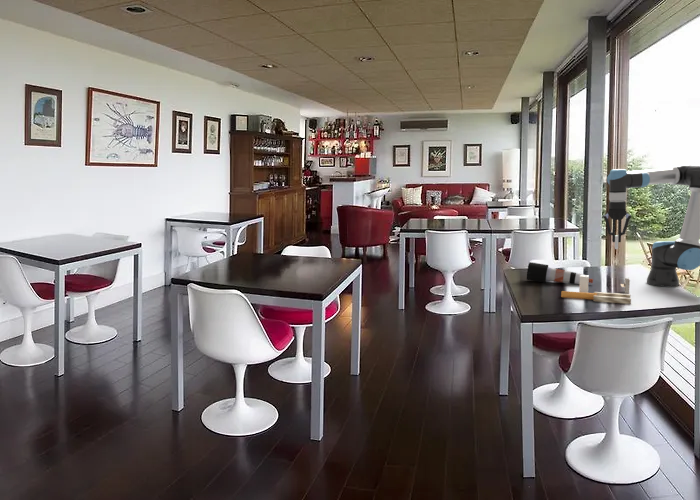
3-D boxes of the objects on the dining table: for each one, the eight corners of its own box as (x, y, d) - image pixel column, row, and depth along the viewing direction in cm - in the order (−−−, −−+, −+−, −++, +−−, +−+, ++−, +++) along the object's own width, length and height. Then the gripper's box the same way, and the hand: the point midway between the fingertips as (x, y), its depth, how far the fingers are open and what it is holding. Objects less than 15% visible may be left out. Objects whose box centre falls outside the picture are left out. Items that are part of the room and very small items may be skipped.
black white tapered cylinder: (590, 294, 309) (593, 279, 303) (526, 283, 321) (527, 269, 315) (592, 282, 316) (594, 268, 310) (529, 272, 328) (530, 258, 323)
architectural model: (621, 294, 290) (622, 279, 289) (620, 291, 297) (620, 276, 296) (629, 294, 289) (629, 279, 288) (627, 291, 296) (628, 277, 294)
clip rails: (630, 299, 277) (630, 294, 277) (630, 303, 268) (631, 298, 268) (593, 296, 284) (594, 291, 284) (593, 301, 275) (593, 296, 274)
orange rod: (596, 296, 280) (597, 292, 278) (596, 301, 278) (596, 297, 276) (561, 293, 286) (561, 289, 284) (561, 298, 285) (561, 294, 282)
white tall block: (588, 292, 292) (588, 275, 291) (587, 294, 289) (588, 276, 287) (579, 292, 294) (580, 274, 293) (579, 293, 290) (579, 276, 289)
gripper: (631, 200, 283) (630, 247, 286) (602, 200, 288) (601, 247, 291) (632, 201, 276) (631, 250, 280) (603, 202, 281) (602, 249, 284)
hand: (616, 248), depth 285 cm, fingers closed
